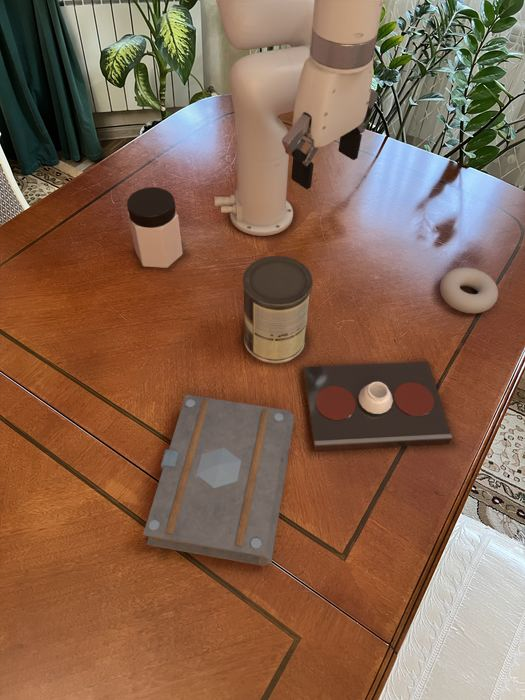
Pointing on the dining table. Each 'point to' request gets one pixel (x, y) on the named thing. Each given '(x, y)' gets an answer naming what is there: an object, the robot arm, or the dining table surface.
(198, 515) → the book
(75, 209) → the dining table surface
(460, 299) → the donut
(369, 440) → the hob
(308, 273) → the coffee can
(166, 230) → the jar
